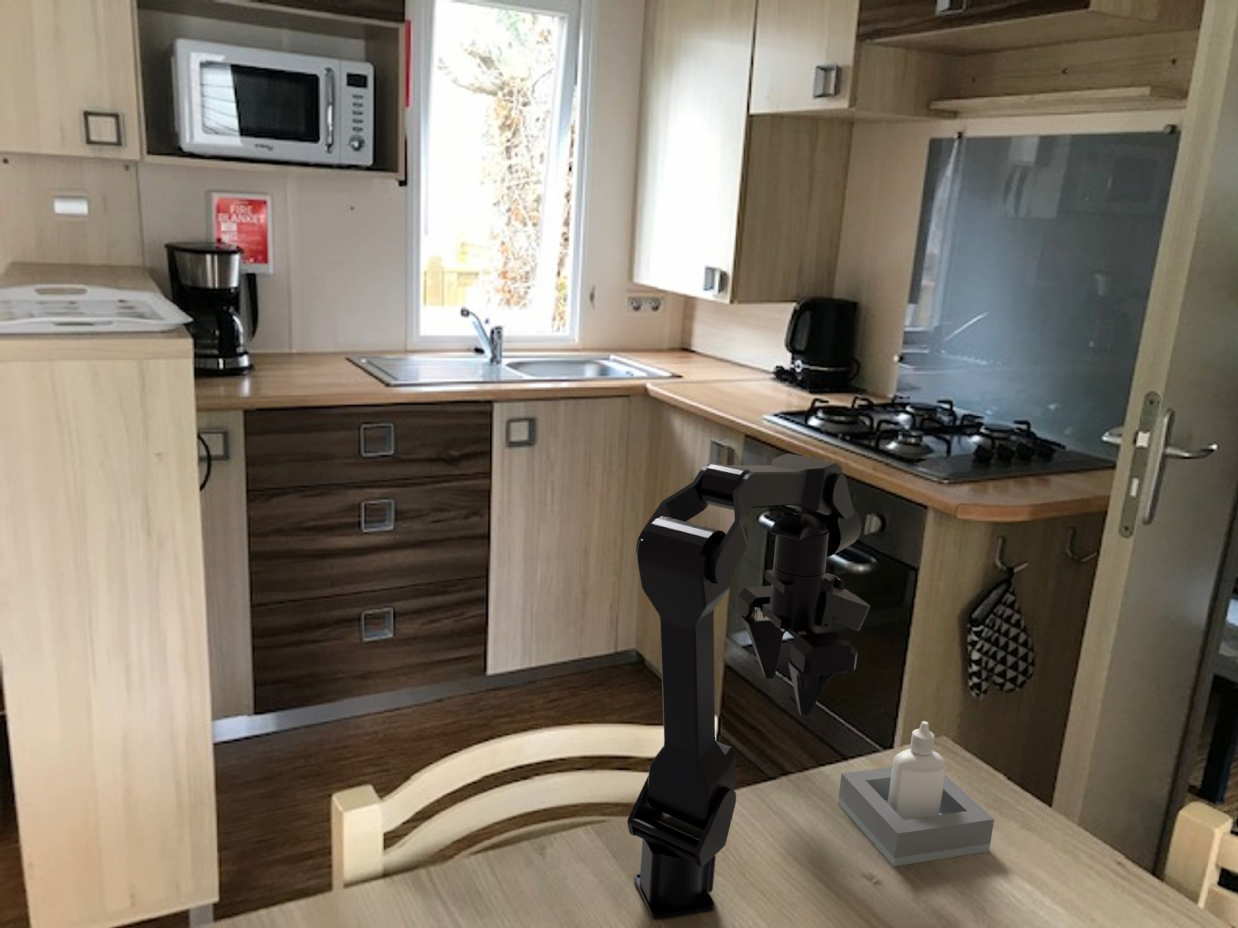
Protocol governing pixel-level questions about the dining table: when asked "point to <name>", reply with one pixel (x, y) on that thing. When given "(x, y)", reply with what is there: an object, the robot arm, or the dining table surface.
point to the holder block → (914, 820)
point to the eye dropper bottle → (917, 777)
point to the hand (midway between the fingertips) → (786, 695)
